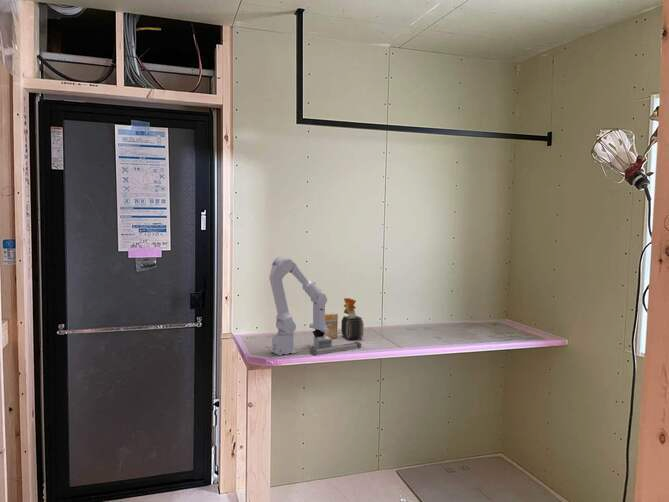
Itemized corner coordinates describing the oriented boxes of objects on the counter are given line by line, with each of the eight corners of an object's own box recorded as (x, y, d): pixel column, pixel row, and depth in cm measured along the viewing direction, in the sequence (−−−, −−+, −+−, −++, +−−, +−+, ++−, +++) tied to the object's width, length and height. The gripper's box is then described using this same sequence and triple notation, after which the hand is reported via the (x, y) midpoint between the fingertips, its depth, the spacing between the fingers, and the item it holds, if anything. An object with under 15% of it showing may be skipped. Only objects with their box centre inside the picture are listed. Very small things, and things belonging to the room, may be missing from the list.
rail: (314, 355, 215) (314, 350, 215) (310, 353, 219) (310, 348, 219) (361, 348, 230) (361, 343, 230) (356, 346, 233) (356, 341, 233)
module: (318, 352, 222) (318, 340, 221) (313, 348, 227) (314, 336, 226) (331, 350, 225) (332, 338, 225) (326, 346, 230) (327, 335, 229)
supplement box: (324, 339, 246) (325, 314, 245) (319, 338, 250) (320, 313, 249) (337, 338, 251) (338, 313, 250) (332, 336, 254) (332, 312, 254)
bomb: (349, 340, 244) (350, 302, 243) (339, 335, 257) (340, 298, 256) (363, 339, 247) (364, 301, 246) (352, 334, 260) (353, 298, 259)
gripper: (334, 318, 224) (334, 347, 225) (318, 314, 236) (318, 341, 237) (321, 320, 220) (321, 349, 221) (305, 315, 232) (305, 342, 233)
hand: (318, 345), depth 229 cm, fingers closed, pressing on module
